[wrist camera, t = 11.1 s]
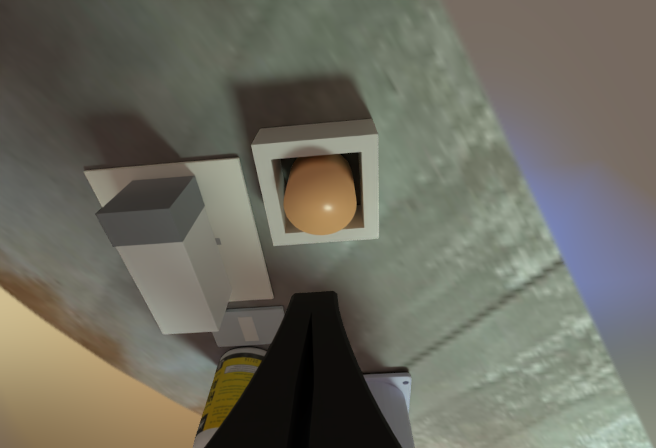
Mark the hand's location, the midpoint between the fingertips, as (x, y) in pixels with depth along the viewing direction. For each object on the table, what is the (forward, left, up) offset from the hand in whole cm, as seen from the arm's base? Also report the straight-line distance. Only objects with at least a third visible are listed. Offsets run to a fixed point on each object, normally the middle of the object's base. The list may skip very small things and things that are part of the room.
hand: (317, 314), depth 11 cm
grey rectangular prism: (-4, +9, -10) cm, 14 cm away
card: (-12, +7, -10) cm, 18 cm away
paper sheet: (-4, +9, -10) cm, 14 cm away
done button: (0, 0, -10) cm, 10 cm away
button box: (0, 0, -10) cm, 10 cm away
